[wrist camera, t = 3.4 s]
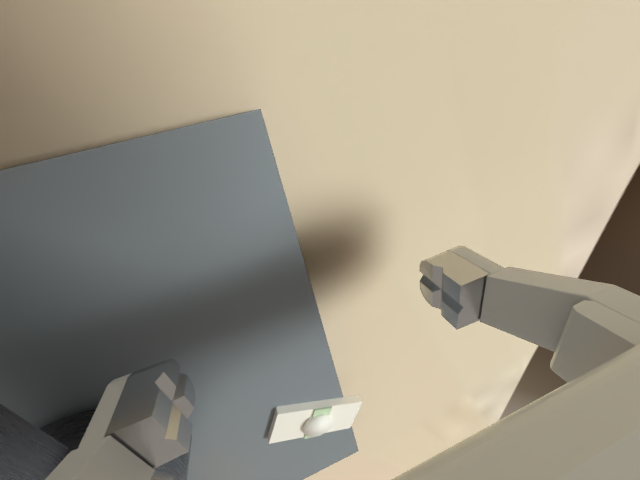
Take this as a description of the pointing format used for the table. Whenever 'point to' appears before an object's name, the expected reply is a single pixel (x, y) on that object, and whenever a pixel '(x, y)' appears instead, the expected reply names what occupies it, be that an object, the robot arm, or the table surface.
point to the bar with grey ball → (56, 447)
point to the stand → (172, 296)
